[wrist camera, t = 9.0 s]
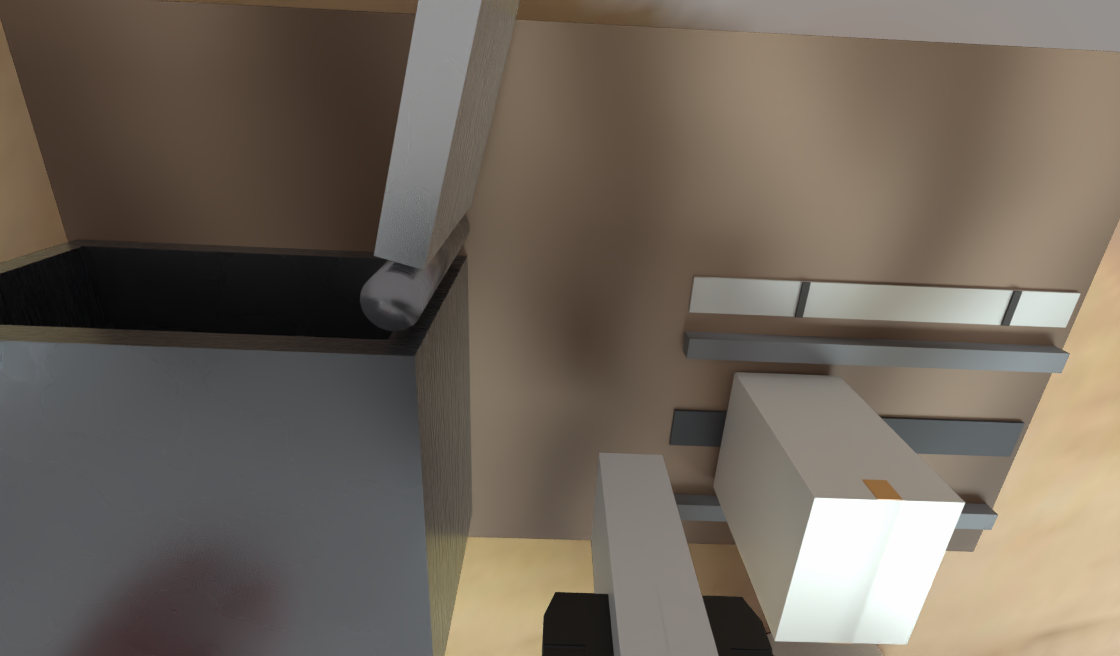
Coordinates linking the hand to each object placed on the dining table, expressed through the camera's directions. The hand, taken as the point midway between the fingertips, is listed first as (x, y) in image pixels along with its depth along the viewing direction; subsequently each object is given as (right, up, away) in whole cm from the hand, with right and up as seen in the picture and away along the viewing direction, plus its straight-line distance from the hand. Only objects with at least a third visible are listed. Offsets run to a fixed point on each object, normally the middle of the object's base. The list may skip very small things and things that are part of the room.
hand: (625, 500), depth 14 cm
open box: (-9, +2, +3) cm, 10 cm away
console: (-1, +5, +3) cm, 6 cm away
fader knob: (+5, +1, +3) cm, 6 cm away
